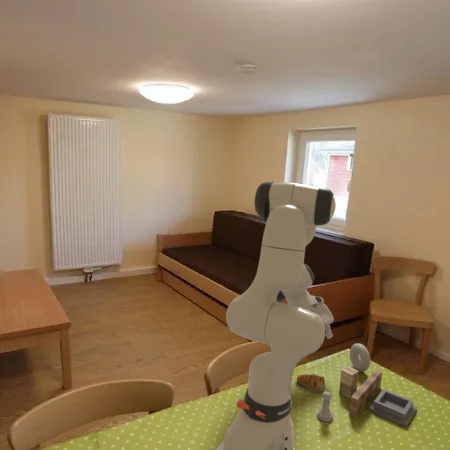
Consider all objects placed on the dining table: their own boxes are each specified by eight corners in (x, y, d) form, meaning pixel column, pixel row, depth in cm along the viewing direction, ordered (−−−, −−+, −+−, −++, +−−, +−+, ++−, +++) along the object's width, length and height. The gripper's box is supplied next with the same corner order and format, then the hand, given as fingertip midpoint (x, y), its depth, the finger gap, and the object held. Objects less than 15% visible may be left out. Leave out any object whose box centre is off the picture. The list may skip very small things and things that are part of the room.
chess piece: (335, 421, 110) (338, 396, 109) (320, 422, 109) (322, 397, 108) (329, 411, 115) (331, 387, 113) (314, 412, 114) (316, 387, 113)
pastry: (294, 386, 127) (295, 376, 127) (298, 377, 133) (299, 367, 133) (322, 394, 124) (323, 383, 123) (325, 383, 130) (326, 373, 129)
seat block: (406, 427, 109) (407, 417, 109) (368, 410, 116) (369, 401, 116) (416, 409, 117) (417, 400, 117) (380, 395, 124) (381, 386, 124)
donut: (370, 376, 135) (373, 350, 134) (362, 377, 134) (365, 351, 133) (354, 362, 145) (356, 338, 143) (346, 363, 144) (349, 339, 142)
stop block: (349, 397, 122) (352, 375, 121) (339, 391, 125) (341, 369, 124) (356, 393, 125) (358, 371, 123) (345, 387, 128) (348, 366, 126)
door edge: (355, 418, 112) (357, 399, 111) (349, 414, 113) (351, 396, 112) (380, 387, 129) (382, 371, 128) (374, 385, 130) (376, 369, 129)
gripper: (288, 307, 129) (309, 345, 123) (324, 296, 142) (345, 330, 136) (278, 315, 133) (298, 352, 127) (314, 304, 146) (333, 337, 140)
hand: (322, 341), depth 131 cm, fingers open, 8 cm apart
